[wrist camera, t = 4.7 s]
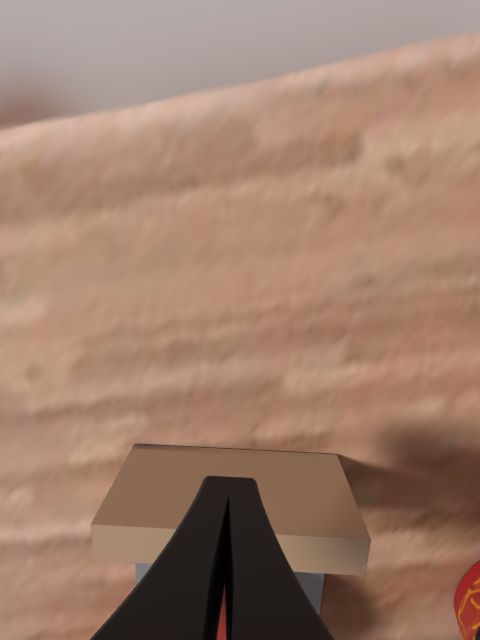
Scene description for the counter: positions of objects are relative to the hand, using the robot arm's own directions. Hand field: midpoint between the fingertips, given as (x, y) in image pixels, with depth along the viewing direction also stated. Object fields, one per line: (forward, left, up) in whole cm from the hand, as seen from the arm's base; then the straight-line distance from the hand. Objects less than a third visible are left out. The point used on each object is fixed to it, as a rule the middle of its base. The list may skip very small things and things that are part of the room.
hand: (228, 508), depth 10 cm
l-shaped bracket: (-10, 0, -8) cm, 13 cm away
